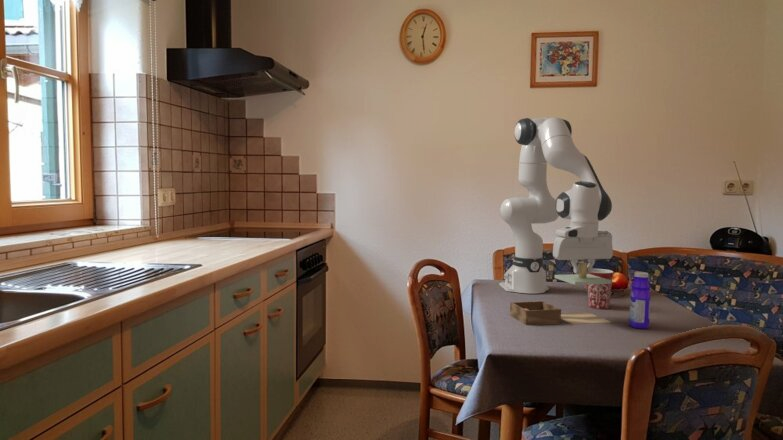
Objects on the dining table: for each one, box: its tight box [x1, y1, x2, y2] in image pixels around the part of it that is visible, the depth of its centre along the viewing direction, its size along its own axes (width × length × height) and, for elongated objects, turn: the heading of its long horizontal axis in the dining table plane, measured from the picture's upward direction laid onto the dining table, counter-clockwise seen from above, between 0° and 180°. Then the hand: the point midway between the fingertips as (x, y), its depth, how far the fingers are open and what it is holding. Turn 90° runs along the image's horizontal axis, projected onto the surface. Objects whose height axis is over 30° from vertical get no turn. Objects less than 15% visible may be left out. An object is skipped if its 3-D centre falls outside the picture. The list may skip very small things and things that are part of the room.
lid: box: [554, 261, 613, 286], centre depth 183 cm, size 13×13×6 cm
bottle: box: [628, 271, 652, 329], centre depth 176 cm, size 7×6×17 cm
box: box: [509, 300, 562, 326], centre depth 182 cm, size 12×12×5 cm
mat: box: [561, 311, 613, 325], centre depth 185 cm, size 14×14×1 cm
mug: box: [587, 268, 615, 310], centre depth 205 cm, size 13×9×14 cm
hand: (582, 272), depth 184 cm, fingers closed on lid, 3 cm apart
